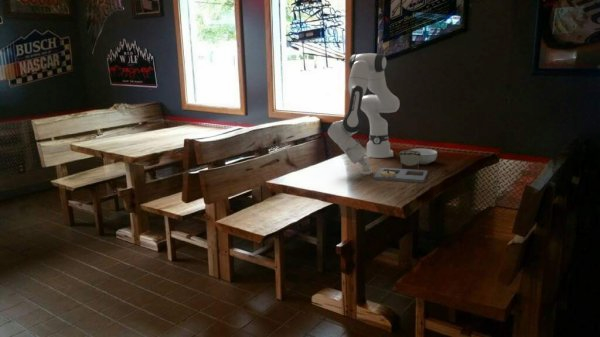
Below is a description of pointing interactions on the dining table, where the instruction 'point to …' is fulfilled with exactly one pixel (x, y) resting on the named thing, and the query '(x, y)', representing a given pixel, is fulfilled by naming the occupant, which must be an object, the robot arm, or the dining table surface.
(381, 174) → the gear board
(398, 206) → the dining table surface
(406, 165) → the food container
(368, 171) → the gear shaft
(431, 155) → the cereal bowl
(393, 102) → the robot arm
